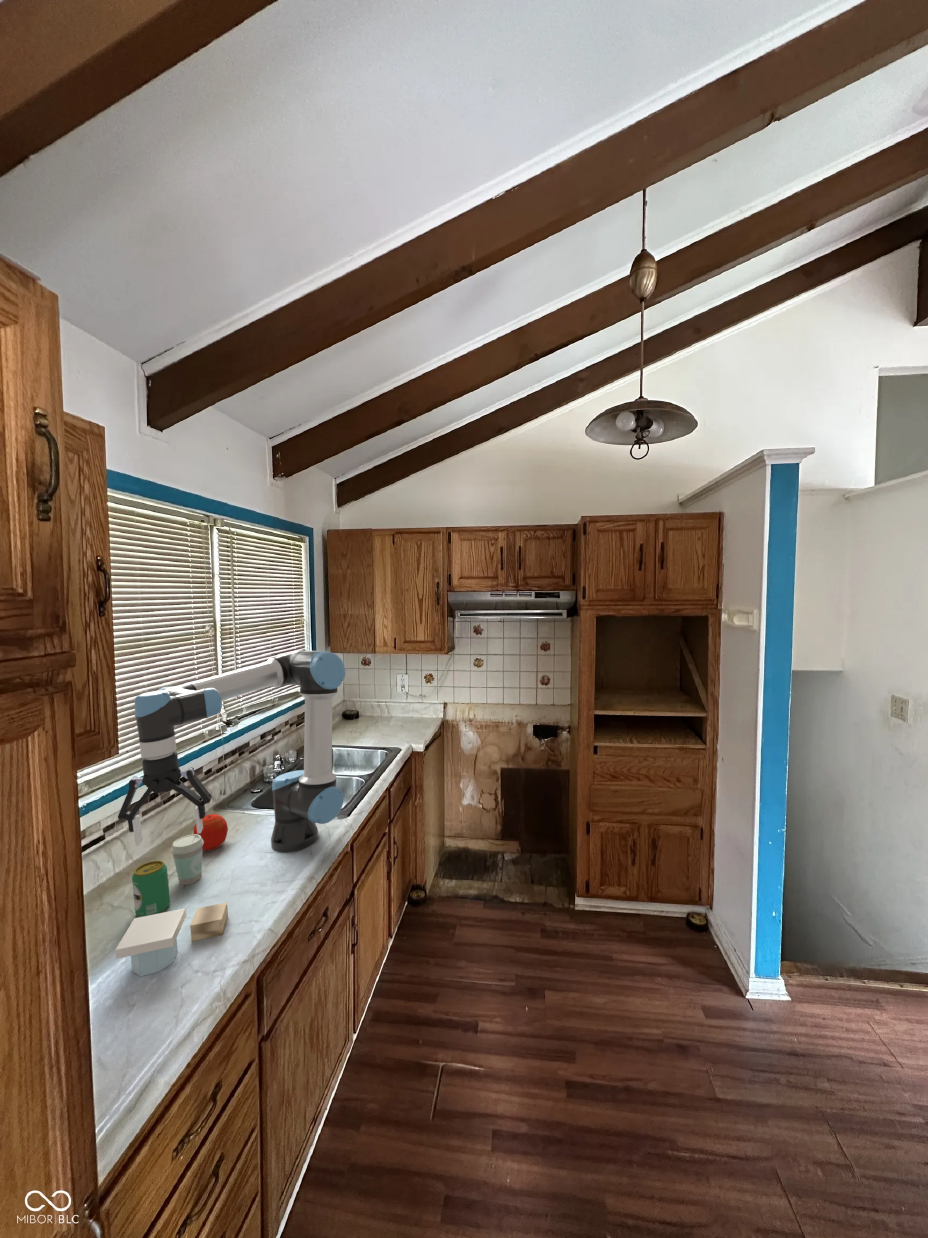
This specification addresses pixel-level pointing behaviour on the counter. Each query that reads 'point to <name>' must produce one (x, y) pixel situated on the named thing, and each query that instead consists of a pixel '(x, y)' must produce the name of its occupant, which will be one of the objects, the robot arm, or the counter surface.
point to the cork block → (209, 921)
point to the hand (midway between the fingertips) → (170, 837)
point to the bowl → (153, 960)
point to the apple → (213, 831)
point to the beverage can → (151, 888)
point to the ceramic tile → (151, 933)
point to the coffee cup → (188, 858)
